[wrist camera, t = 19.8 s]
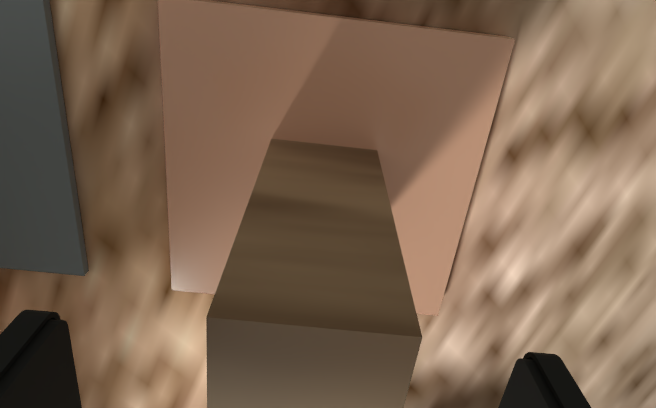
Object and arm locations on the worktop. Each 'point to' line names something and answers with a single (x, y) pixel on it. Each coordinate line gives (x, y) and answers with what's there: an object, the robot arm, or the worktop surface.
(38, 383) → the robot arm
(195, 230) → the pad
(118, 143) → the worktop surface
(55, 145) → the mat
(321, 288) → the walnut block
